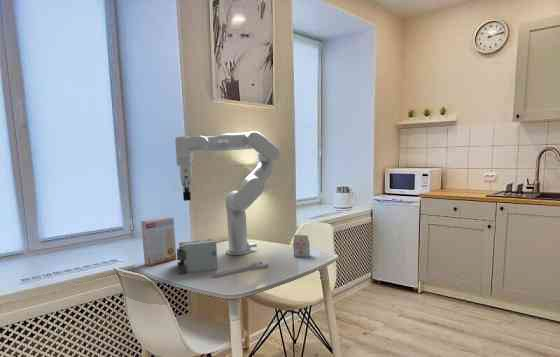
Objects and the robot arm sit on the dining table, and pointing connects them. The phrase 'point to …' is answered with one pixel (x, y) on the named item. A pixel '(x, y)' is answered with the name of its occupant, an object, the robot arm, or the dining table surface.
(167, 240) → the cracker box
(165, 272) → the dining table surface
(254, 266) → the adjustable wrench
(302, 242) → the small printed carton
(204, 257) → the grey flat block
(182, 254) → the cabinet
